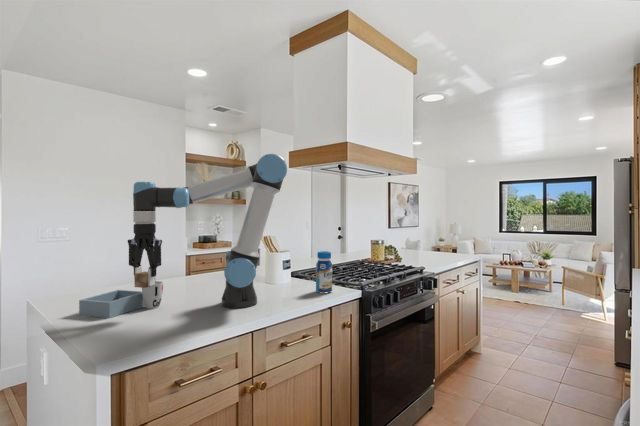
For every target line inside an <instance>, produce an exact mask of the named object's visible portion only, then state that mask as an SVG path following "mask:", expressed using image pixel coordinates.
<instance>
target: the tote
mask: <svg viewBox="0 0 640 426" xmlns="http://www.w3.org/2000/svg"><path fill="white" fill-rule="evenodd" d="M78 305H79V306H78V308H79V310H78V311H79V312H78V313H79V314H78V316H83V317H92V318H93V317H94V318H101V319H102V318H103V319H104V318H105V319H112V318H113V317H114V318H115V317H117V316H120V315H123V314H125V313H128V312H131V311H134V310H137V309H139V308H143V307H145V304H144V300H143V295H142V290H141V291H140V290H139V291H138V290H128V289H127V290H125V289H116V290H112V291H108V292H105V293H101V294H98V295H94V296H89V297H86V298H82V299H79V301H78Z"/></svg>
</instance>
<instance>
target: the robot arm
mask: <svg viewBox="0 0 640 426" xmlns="http://www.w3.org/2000/svg"><path fill="white" fill-rule="evenodd" d="M287 173H288V165H287V162H286V161H285V159H284V158H283V157H282V156H281V155H279V154H276V153H267V154H264V155H262V156H261V157H260V158H259V159H258V161H257V163H255V164H253V165H249V166H247V167H246V168H245V169H244V170H241V171H237V172H233V173H230V174H225V175H224V176H219V177H216V178H212V179H209V180H205V181H202V182H197V183H195V184H192V185H188V186H184V187H180V186H179V187H157V186H156V183H155V182H154V181H153V182H152V181H136V182H134V183H133V190H132V191H133V192H132V196H133V197H132V198H133V201H132V203H133V211H132V212H133V215H132V216H133V219H132V221H133V223H134V224H133V234H134V237H133V238H130V239H127V244H128V265H129V267H130V266H131V267H132V268H133V275H134V274H135V273H140V272H143V266H142V264H141V263H142V258H143V255H144V250H145V252H146V255H147V261H148V265H149V267H148V268H147V272H148V286H152V285H155V281H156V277H157V268H158V267H161V266H162V243H163V240H162V239H158V238H156V235H155V233H156V230H157V223H155V222H157V221H156V219H157V218H156V208H176V209H181V208H188V207H189V206H190V205H193V204H195V203H199V202H202V201H203V202H204V201H205V200H206V201H207V200H210V199H213V198H217V197H220V196H223V195H227V194H229V193H234V192H236V191H237V192H238V191H240V190H241V191H242V190H244V189H247V188H250V187H252V188H253V190H252V193H251V197H250V201H249V204H248V207H247V211H246V212H245V213H246V214H245V216H244V220H243V223H242V227H241V230H240V232H239V236H238V240H237V243H236V245H235V246H233V247H231V249H230V250H228V251H226V254H225V267H224V278H225V288H224V292H223V294H222V297H221V306H222V305H223V306H222V307H225V308H230V307H231V308H233V309H237V308H239V307H242V308H248V307H247V306H249V307H252V306H251V305H253V306H255V305H257V304H258V296H257V293H256V290H255V287H254V280H255V278H256V276H257V267H258V265H259V260H260V257H261V255H260V253H259V252H258V251H259V247H260V244H261V241H262V237H263V234H264V231H265V229H266V228H265V227H266V224H267V220H268V218H269V216H270V215H269V214H270V211H271V208H272V205H273V202H274V198H275V196H276V194H278V193H280V192H281V188H282V184H283V182H284V179H285V178H286V176H287ZM256 303H257V304H256ZM254 304H255V305H254Z"/></svg>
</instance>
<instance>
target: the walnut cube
mask: <svg viewBox="0 0 640 426" xmlns="http://www.w3.org/2000/svg"><path fill="white" fill-rule="evenodd" d="M133 277H134V278H133V279H134V288H141V289H142V288H147V287H150V286H148V271H142V272H140V273H135V274H134V273H133ZM152 286H154V285H152Z"/></svg>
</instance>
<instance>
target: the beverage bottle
mask: <svg viewBox="0 0 640 426" xmlns="http://www.w3.org/2000/svg"><path fill="white" fill-rule="evenodd" d="M316 257H317V259H318V260H317V262H316V264H315V267H316V269H315V292H316V293H317V292H321V293H320V294H323V293H325V292H331V291H332V292H333V271H334V270H333V263H332V261H331V258H332V252H331V251H324V250H323V251H321V250H320V251H317V256H316ZM332 292H331V293H332Z"/></svg>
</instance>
